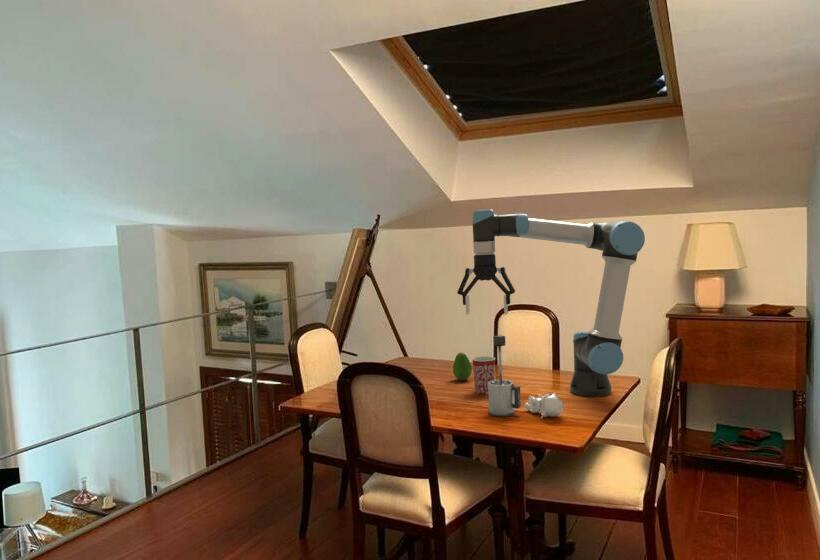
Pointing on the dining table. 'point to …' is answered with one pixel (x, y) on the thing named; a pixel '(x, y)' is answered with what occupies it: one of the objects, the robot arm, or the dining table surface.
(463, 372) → the avocado
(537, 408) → the figurine
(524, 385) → the dining table surface
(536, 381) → the dining table surface
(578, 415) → the dining table surface
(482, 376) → the mug
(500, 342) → the plunger
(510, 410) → the grey coffee mug
